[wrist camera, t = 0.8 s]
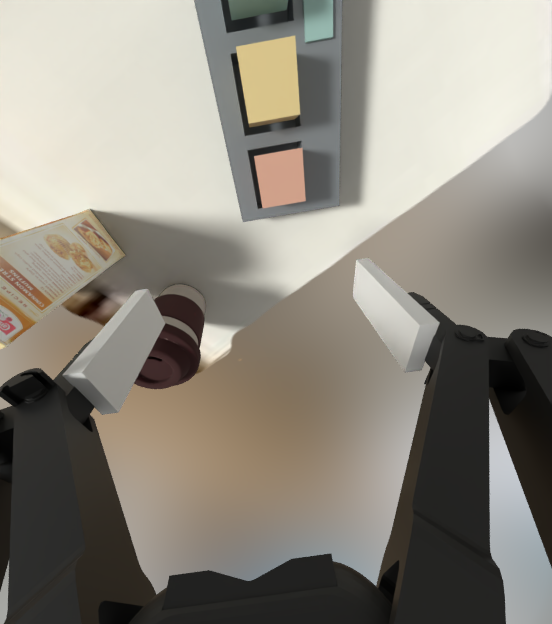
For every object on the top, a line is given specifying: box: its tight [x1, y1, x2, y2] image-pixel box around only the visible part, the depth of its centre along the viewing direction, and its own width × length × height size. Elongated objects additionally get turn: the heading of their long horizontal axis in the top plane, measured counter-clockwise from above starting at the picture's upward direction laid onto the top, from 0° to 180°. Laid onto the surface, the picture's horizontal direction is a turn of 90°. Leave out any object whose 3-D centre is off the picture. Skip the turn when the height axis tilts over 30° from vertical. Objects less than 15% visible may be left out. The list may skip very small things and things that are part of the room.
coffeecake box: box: [0, 209, 125, 349], centre depth 24 cm, size 15×7×20 cm, turn 110°
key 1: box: [254, 148, 306, 208], centre depth 24 cm, size 5×5×4 cm
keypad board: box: [194, 0, 342, 222], centre depth 23 cm, size 22×12×4 cm, turn 8°
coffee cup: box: [134, 284, 206, 389], centre depth 32 cm, size 10×10×15 cm
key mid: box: [236, 36, 300, 128], centre depth 20 cm, size 5×5×4 cm
